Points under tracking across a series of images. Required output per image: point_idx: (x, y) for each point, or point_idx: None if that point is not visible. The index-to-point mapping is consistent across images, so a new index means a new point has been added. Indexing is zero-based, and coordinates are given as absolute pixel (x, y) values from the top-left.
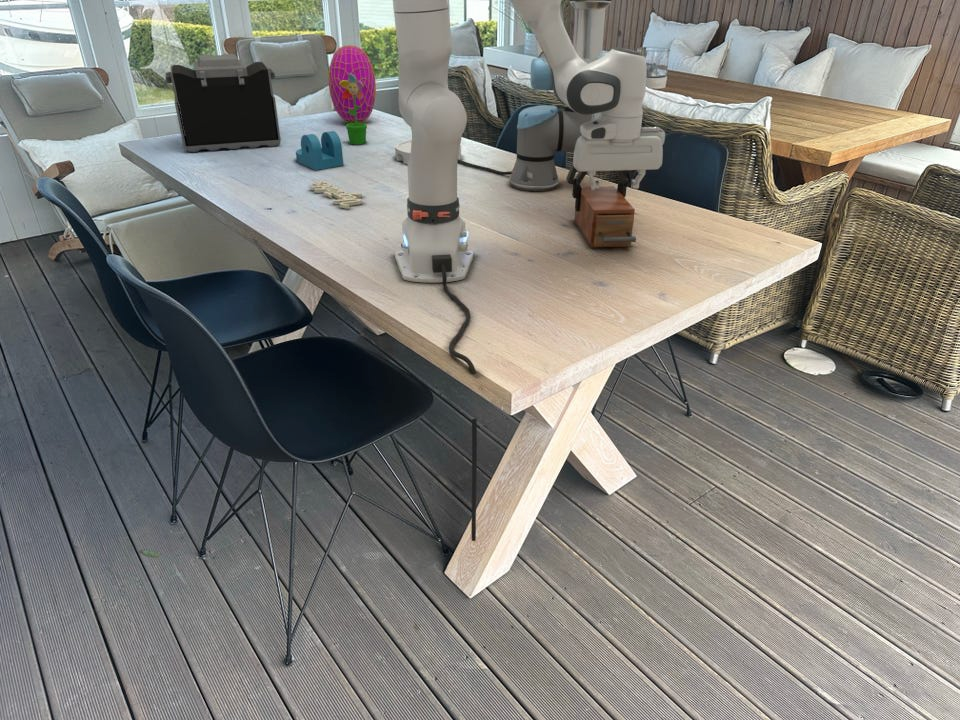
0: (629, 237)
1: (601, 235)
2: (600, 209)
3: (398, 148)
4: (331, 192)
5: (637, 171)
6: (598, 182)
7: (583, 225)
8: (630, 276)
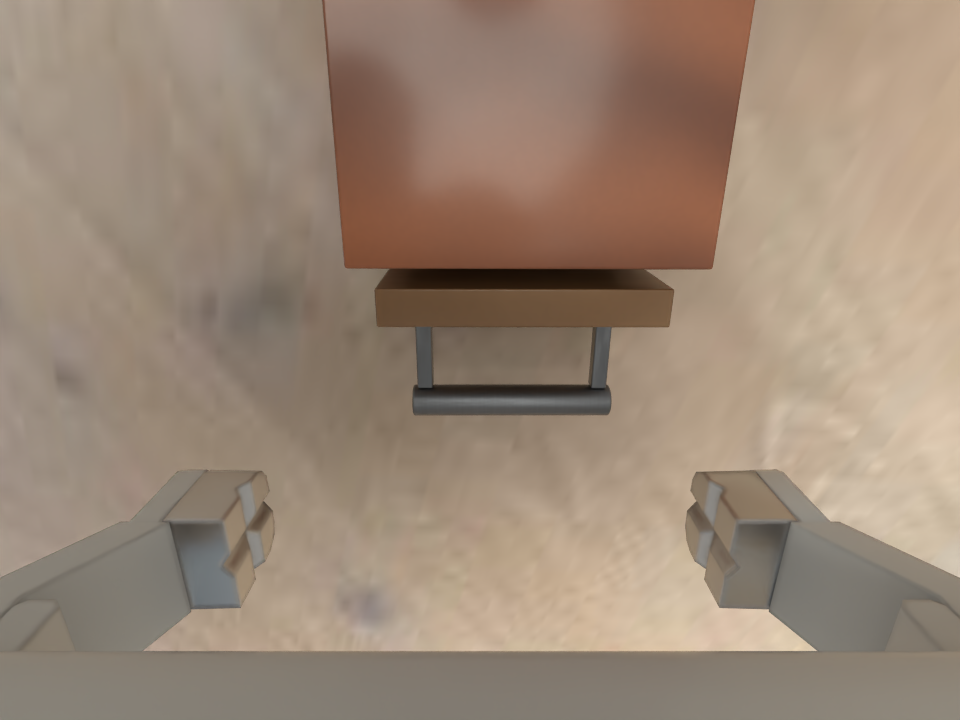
0: (572, 413)
1: (417, 351)
2: (407, 258)
3: None
4: None
5: (895, 644)
6: (227, 594)
7: None
8: (502, 555)
